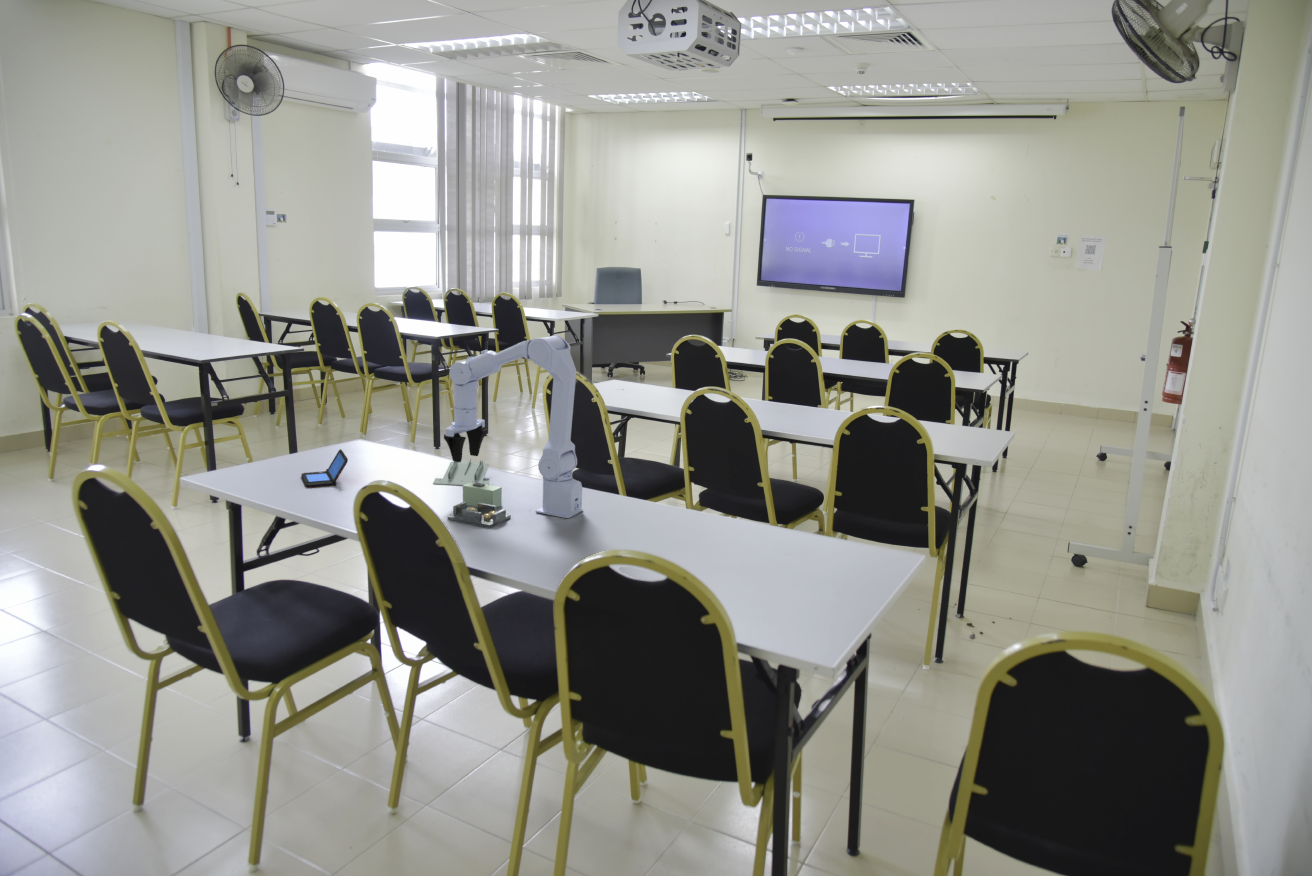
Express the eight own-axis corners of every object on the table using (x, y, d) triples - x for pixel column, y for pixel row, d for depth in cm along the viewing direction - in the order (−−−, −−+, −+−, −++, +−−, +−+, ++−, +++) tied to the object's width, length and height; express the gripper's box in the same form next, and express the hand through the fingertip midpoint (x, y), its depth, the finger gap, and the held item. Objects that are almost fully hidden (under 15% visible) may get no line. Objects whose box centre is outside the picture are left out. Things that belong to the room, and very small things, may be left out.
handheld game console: (300, 477, 236) (299, 450, 234) (342, 473, 241) (341, 448, 239) (306, 489, 225) (305, 462, 224) (349, 485, 230) (348, 459, 229)
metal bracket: (444, 454, 245) (496, 457, 245) (445, 471, 248) (497, 474, 248) (431, 480, 233) (486, 483, 232) (433, 498, 235) (487, 501, 235)
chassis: (510, 517, 210) (510, 507, 209) (490, 528, 201) (490, 516, 201) (469, 510, 214) (469, 499, 213) (447, 519, 206) (447, 508, 205)
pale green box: (501, 505, 219) (501, 485, 218) (492, 510, 216) (492, 489, 214) (471, 500, 222) (471, 480, 221) (462, 504, 219) (462, 484, 218)
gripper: (469, 401, 229) (469, 450, 232) (435, 410, 216) (435, 462, 219) (491, 404, 226) (491, 454, 229) (458, 413, 213) (458, 466, 216)
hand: (465, 458), depth 224 cm, fingers open, 7 cm apart
